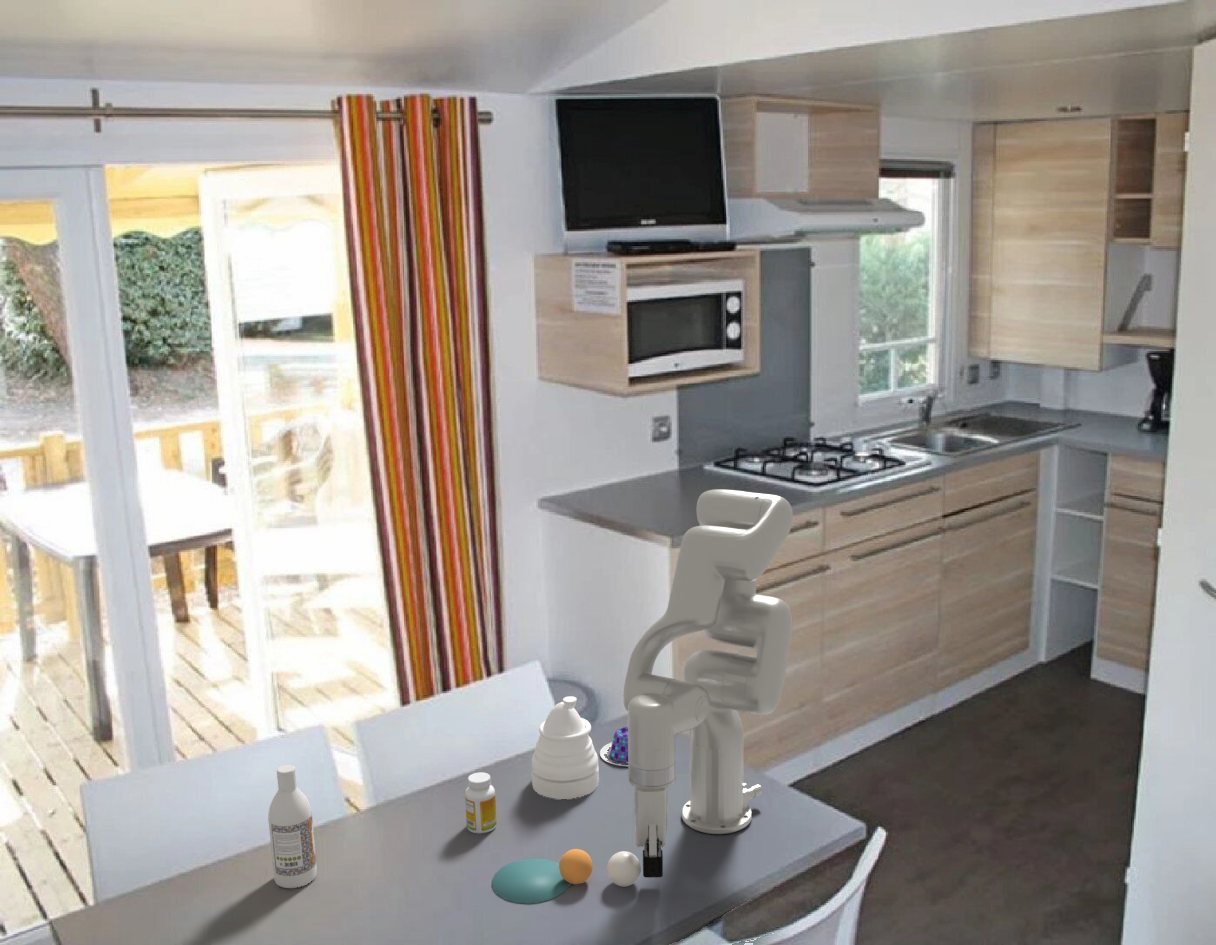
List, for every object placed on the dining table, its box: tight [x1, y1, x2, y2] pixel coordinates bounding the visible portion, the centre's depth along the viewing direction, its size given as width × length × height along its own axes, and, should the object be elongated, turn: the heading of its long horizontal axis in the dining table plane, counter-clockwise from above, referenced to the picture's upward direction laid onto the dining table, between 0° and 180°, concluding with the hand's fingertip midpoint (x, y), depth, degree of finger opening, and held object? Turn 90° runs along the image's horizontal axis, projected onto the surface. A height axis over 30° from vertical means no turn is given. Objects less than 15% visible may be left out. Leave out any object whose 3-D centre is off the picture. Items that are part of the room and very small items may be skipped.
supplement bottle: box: [464, 771, 498, 834], centre depth 212 cm, size 5×5×10 cm
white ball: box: [606, 850, 642, 887], centre depth 194 cm, size 6×6×6 cm
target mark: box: [491, 857, 571, 905], centre depth 196 cm, size 13×13×1 cm
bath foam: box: [268, 764, 318, 889], centre depth 196 cm, size 7×7×20 cm
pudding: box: [599, 726, 628, 767], centre depth 239 cm, size 12×12×5 cm
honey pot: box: [531, 695, 600, 800], centre depth 227 cm, size 13×13×18 cm
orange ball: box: [559, 848, 594, 885], centre depth 195 cm, size 6×6×6 cm
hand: (652, 874), depth 194 cm, fingers closed
